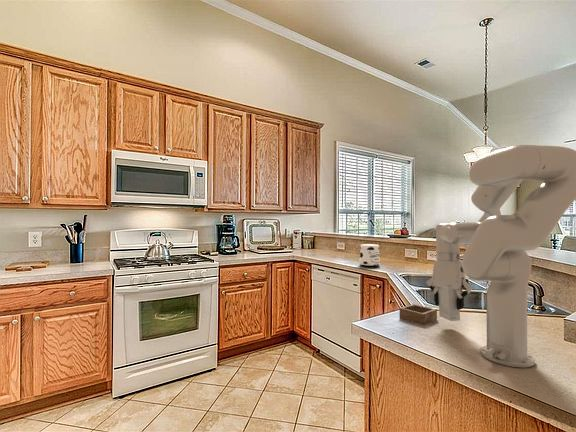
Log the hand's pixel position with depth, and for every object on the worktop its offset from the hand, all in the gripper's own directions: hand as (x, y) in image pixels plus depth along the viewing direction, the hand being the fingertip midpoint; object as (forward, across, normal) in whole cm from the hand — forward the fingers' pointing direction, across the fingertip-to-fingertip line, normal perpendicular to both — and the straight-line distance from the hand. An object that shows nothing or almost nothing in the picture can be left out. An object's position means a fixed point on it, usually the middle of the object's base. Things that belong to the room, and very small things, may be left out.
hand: (448, 306), depth 113 cm
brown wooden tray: (+8, +13, -1) cm, 15 cm away
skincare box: (+5, 0, 0) cm, 5 cm away
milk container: (+5, +113, -101) cm, 152 cm away
